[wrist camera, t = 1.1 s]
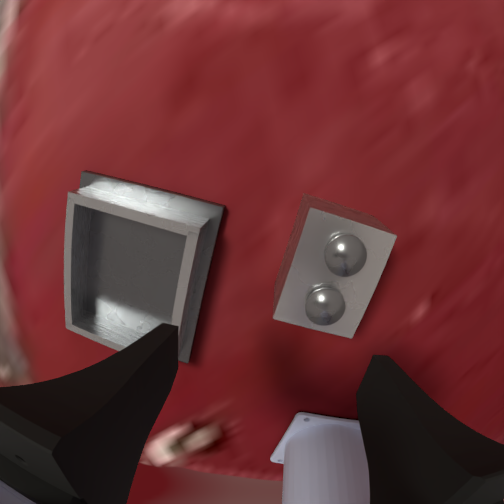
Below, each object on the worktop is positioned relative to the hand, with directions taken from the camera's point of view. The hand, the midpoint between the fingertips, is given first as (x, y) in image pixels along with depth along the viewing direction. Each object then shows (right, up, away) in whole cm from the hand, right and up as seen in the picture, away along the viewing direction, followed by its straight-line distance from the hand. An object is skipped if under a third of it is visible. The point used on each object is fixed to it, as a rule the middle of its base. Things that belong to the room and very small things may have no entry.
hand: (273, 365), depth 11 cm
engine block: (+4, +4, +8) cm, 10 cm away
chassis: (-9, +3, +10) cm, 14 cm away
